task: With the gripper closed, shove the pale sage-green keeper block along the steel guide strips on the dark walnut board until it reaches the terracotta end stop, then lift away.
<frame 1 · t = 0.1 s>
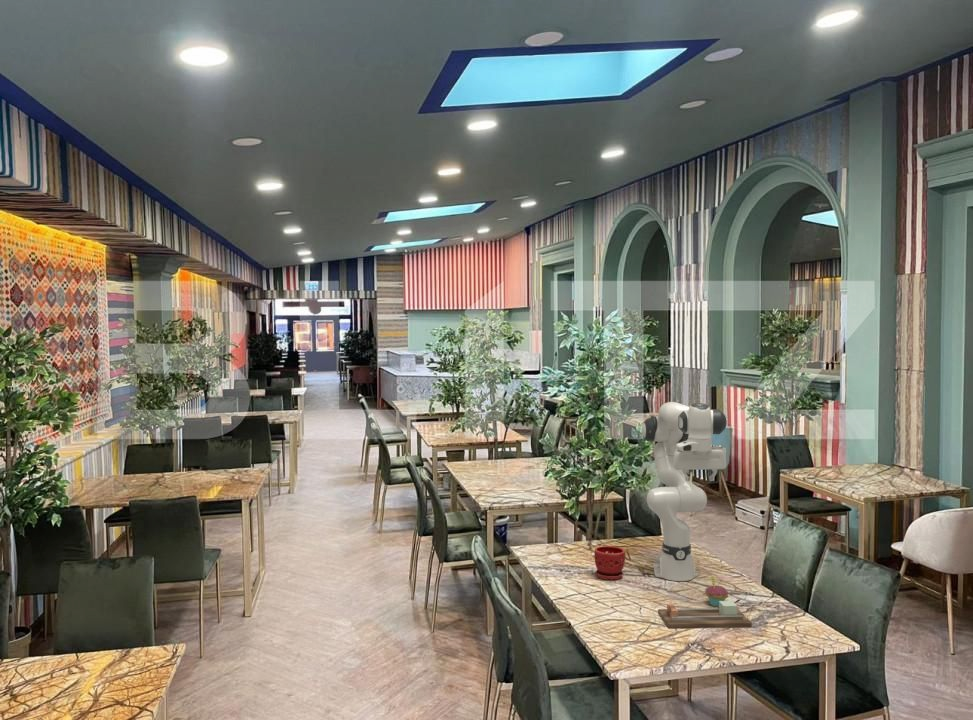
hand: (699, 480, 278), 48 cm above the table, fingers open, 8 cm apart
plant pot: (609, 577, 310), on the table
guide board: (703, 620, 262), on the table
keeper: (728, 609, 262), point 4 cm above the table, slide at 0.0 cm, touching guide board
cupcake: (716, 604, 277), on the table
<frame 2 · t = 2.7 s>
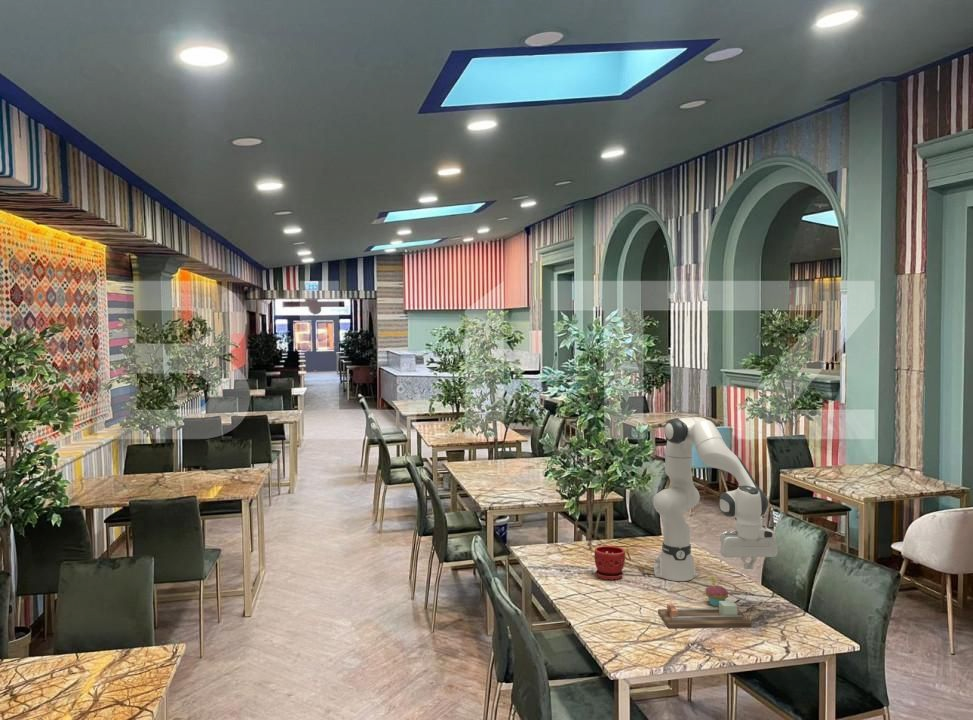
hand: (748, 568, 262), 19 cm above the table, fingers closed
nothing on the table moved.
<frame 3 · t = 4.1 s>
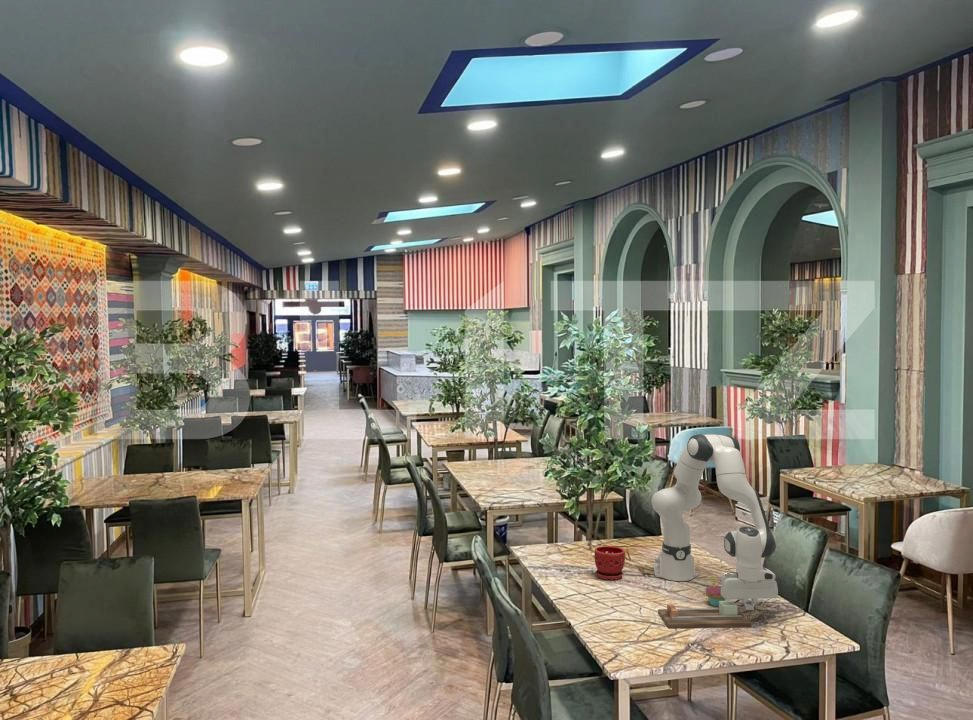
hand: (749, 609, 262), 3 cm above the table, fingers closed
nothing on the table moved.
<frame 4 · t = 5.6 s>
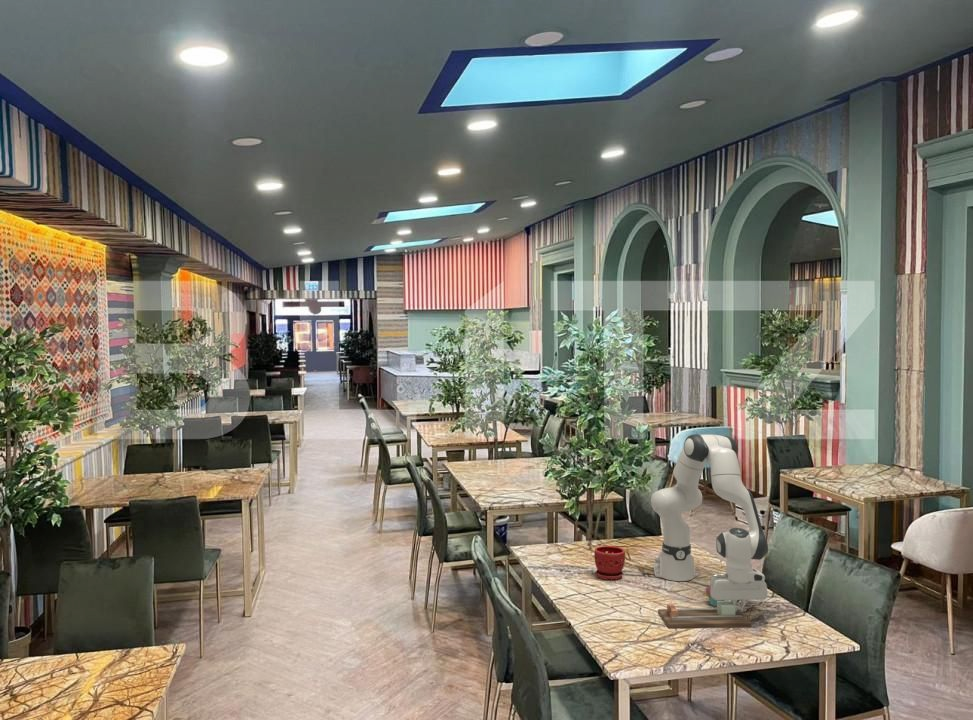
hand: (738, 611, 262), 3 cm above the table, fingers closed
keeper: (726, 609, 262), point 4 cm above the table, slide at 0.7 cm, touching gripper, guide board
everything else where it was.
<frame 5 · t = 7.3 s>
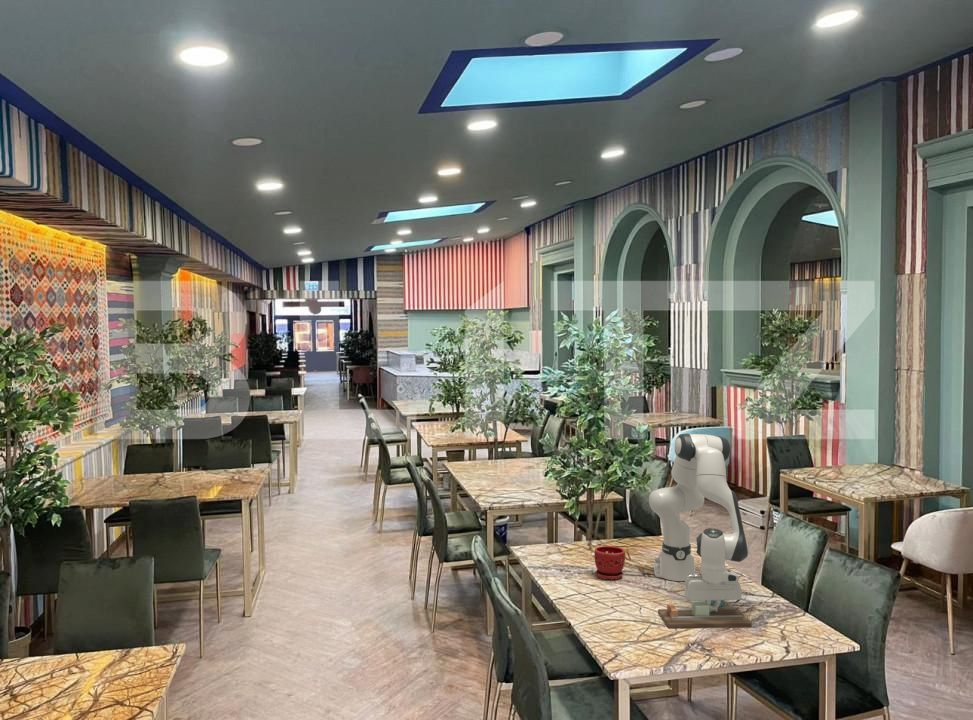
hand: (712, 611, 262), 3 cm above the table, fingers closed
keeper: (700, 609, 262), point 4 cm above the table, slide at 10.3 cm, touching gripper, guide board
everything else where it was.
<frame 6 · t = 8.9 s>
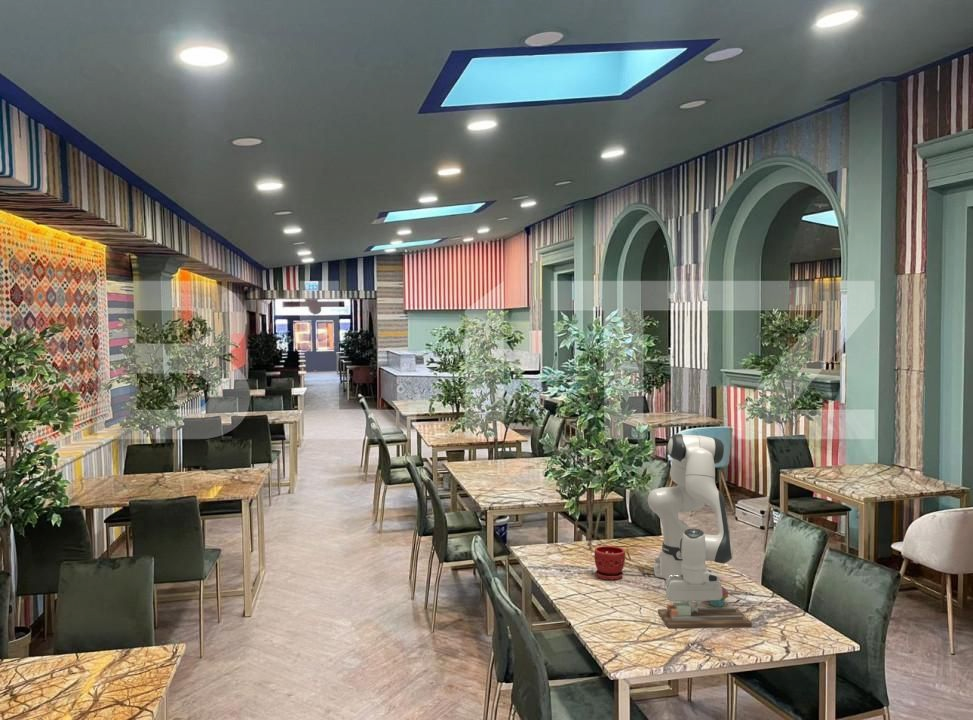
hand: (693, 611, 262), 3 cm above the table, fingers closed
keeper: (681, 610, 262), point 4 cm above the table, slide at 17.1 cm, touching gripper, guide board
everything else where it was.
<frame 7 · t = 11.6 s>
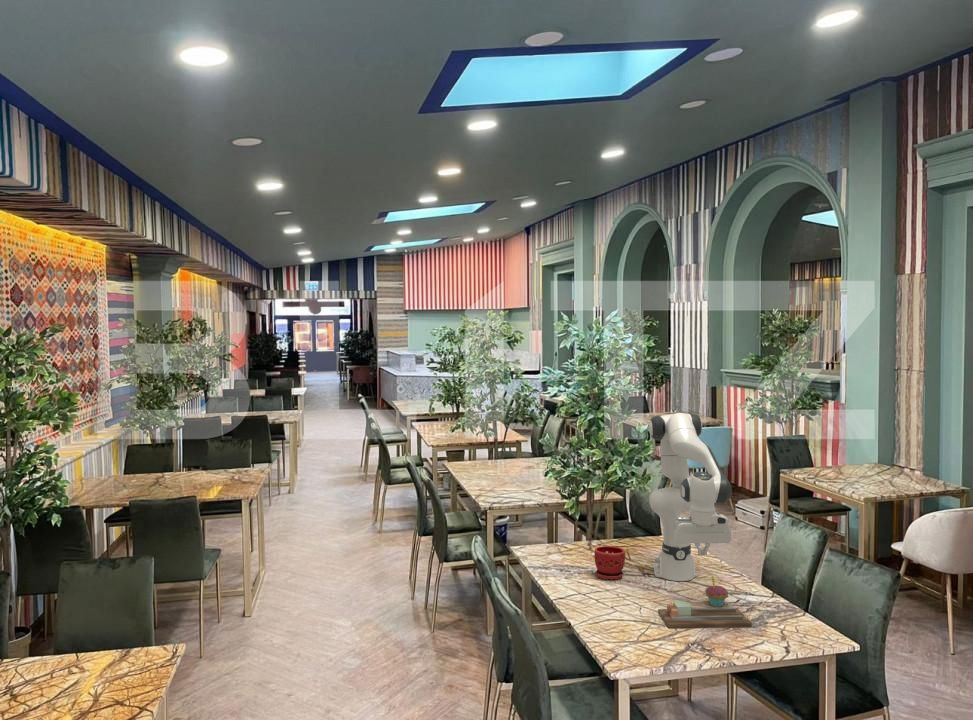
hand: (702, 554, 262), 24 cm above the table, fingers closed
keeper: (682, 610, 262), point 4 cm above the table, slide at 17.0 cm, touching guide board
everything else where it was.
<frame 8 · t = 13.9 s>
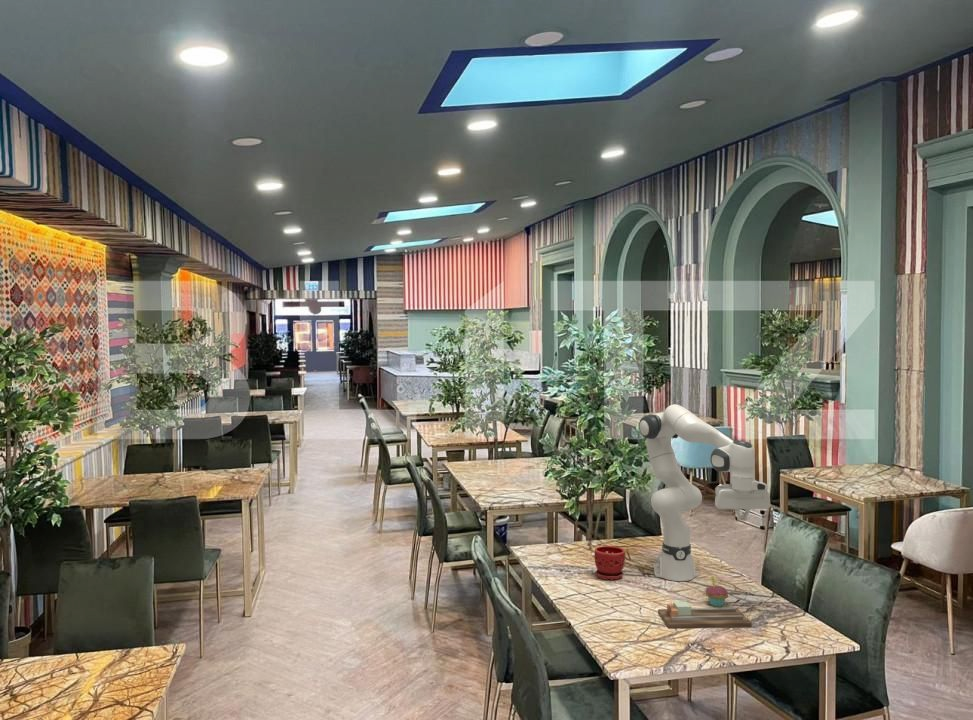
hand: (742, 520, 271), 34 cm above the table, fingers closed
nothing on the table moved.
at the end: keeper slide at 17.0 cm; keeper touching guide board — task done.
